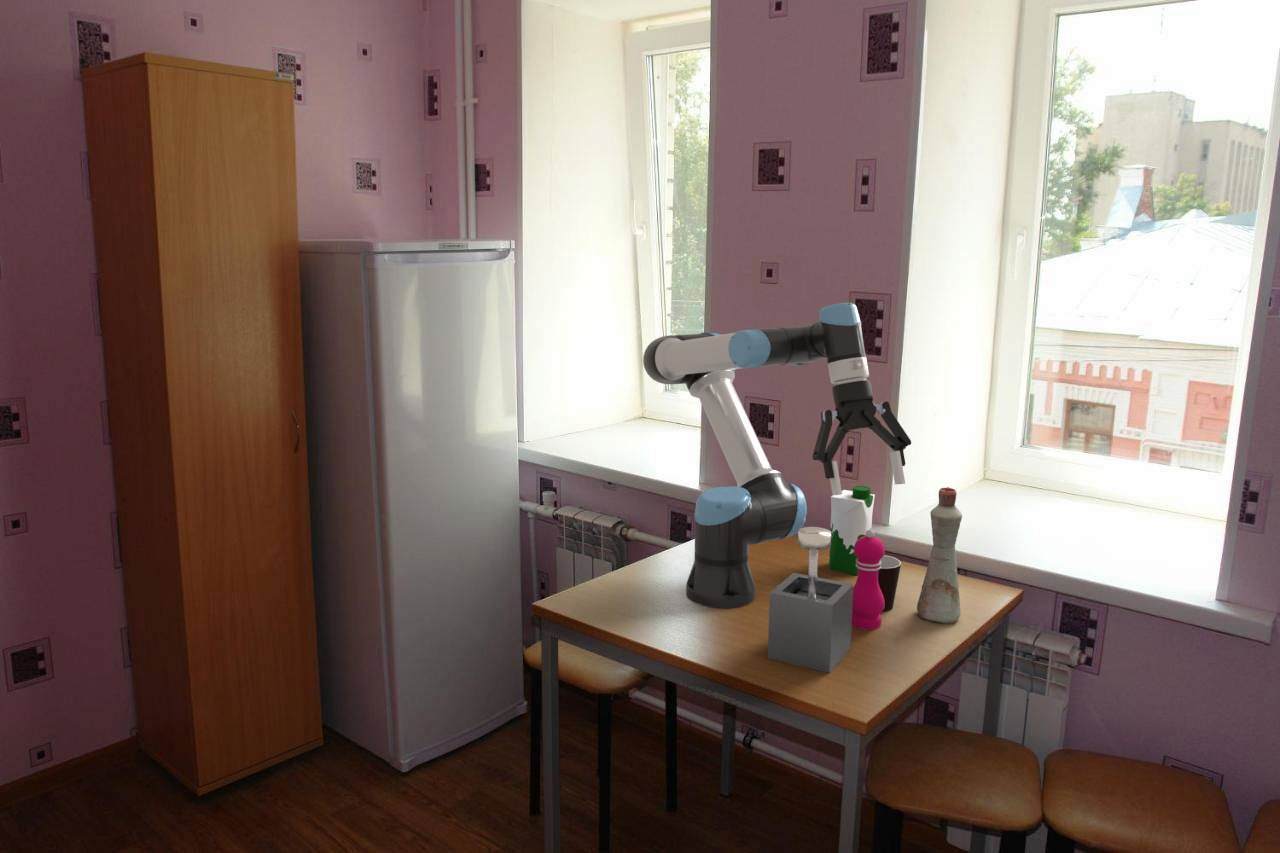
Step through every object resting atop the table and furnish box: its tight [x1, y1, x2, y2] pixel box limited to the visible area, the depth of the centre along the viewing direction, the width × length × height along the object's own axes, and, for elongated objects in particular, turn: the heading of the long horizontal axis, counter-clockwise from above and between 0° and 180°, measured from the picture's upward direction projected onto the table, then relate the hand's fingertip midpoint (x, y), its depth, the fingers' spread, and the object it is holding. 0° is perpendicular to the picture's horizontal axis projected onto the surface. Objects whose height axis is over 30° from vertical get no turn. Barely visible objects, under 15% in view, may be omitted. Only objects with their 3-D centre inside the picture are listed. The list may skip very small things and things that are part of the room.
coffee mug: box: [878, 554, 902, 613], centre depth 202 cm, size 12×9×10 cm
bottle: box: [916, 486, 963, 625], centre depth 193 cm, size 9×9×28 cm
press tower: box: [767, 572, 855, 674], centre depth 177 cm, size 12×12×13 cm
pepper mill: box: [851, 528, 886, 631], centre depth 190 cm, size 7×7×20 cm
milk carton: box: [828, 485, 876, 576], centre depth 222 cm, size 9×9×20 cm
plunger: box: [796, 526, 831, 601], centre depth 175 cm, size 8×8×15 cm
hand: (869, 489), depth 184 cm, fingers open, 13 cm apart
